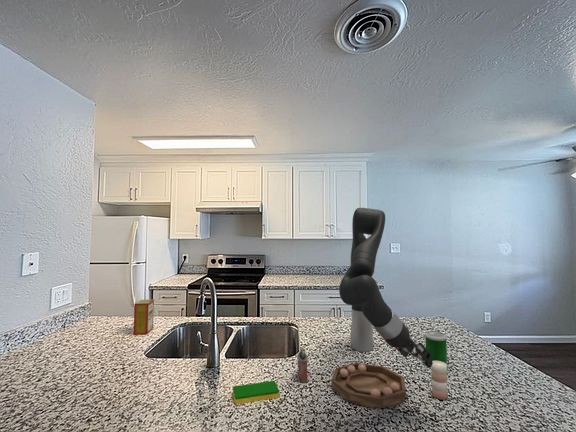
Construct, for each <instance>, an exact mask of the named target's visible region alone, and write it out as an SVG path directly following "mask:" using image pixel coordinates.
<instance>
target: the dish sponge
mask: <svg viewBox="0 0 576 432" xmlns="http://www.w3.org/2000/svg"><path fill="white" fill-rule="evenodd" d="M232 395H233V401H234V404H235V405H240V404H246V403H252V402H259V401H265V400H271V399H278V398H279V397H280V389H279V387H278V385H277V384H276V381H275V380H269V381H263V382H256V383H248V384H241V385H234V386H232Z"/></svg>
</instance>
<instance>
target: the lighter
mask: <svg viewBox="0 0 576 432" xmlns="http://www.w3.org/2000/svg"><path fill="white" fill-rule="evenodd" d="M308 360H309V358H308V355H307V353H306V348H304V347H303V346H301V347H300V348H299V352H298V353H297V367H298V368H297V370H298V371H297V379H298V381H299V383H300V384H304V385H305V384H307V383H308V382H309V378H308V362H309V361H308Z"/></svg>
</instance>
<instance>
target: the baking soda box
mask: <svg viewBox="0 0 576 432" xmlns="http://www.w3.org/2000/svg"><path fill="white" fill-rule="evenodd" d="M154 309H155V299H140V300H139V301H136V302H134V308H133V310H134V311H133V333H132V334H133V335H132V336H148V334H149V333H151V332H152V330H154V312H155V310H154Z"/></svg>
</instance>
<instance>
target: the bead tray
mask: <svg viewBox="0 0 576 432" xmlns="http://www.w3.org/2000/svg"><path fill="white" fill-rule="evenodd" d="M360 364H364V365H365V366H366V372H359V371H358V366H359V365H360ZM349 365H353V366H354V367H355V370H356V371H355V373H353V374H349V373H348V376H347V377H346V378H342V377H341V376H340V370H341V369H343V368H344V369H346V370H347V367H348V366H349ZM392 383H397V384H398V385H399V386H400V391H399V392H395V393H392V394H389V395H386V396H384V395H383V389H384V388H385V387H389V388H390V385H391V384H392ZM331 387H332V388H333V389H334V391H335V393H336V394H337V395H338V396H339V397H341V398H342V399H344V400H346V401H347V402H349V403H351V404H354V405H356V406H357V405H358V406H360V407H361V406H362V407H366V408H372V409H373V408H374V409H380V408H382V409H383V408H391V407H394V406H397V405H400V404H401V403H403V401H404V400H405V399H406V398H407V391H406V382H405V377H404V376H402V375H401V374H398V373H396V372H394V371H393V370H391V369H389V368H387V367H385V366H383V365H375V364H368V363H362V362H361V363H360V362H355V363H351V364H346V365H343V366H339V367H336V368H335V369H334V372H333V375H332V378H331ZM372 389H378V390H379V391H380V394H381V396H380V397H378V396H372V395H370V392H371V390H372Z"/></svg>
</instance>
